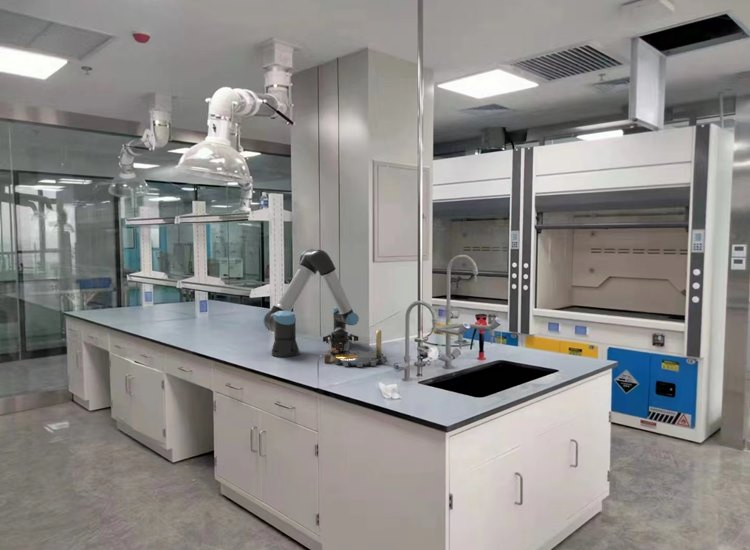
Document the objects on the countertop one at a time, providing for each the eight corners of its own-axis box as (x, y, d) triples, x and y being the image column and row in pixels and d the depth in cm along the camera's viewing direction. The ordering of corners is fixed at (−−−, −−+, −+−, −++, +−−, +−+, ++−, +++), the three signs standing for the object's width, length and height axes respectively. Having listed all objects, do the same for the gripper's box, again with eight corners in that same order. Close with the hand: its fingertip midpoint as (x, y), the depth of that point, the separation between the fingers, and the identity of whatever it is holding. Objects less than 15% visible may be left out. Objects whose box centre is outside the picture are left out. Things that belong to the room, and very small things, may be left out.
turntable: (321, 361, 266) (321, 330, 265) (356, 352, 288) (356, 323, 287) (363, 369, 249) (362, 336, 248) (397, 359, 271) (396, 328, 270)
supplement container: (326, 354, 287) (326, 332, 287) (341, 351, 294) (341, 330, 293) (337, 357, 279) (337, 335, 279) (353, 354, 286) (353, 332, 286)
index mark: (324, 363, 265) (324, 355, 265) (324, 361, 269) (324, 353, 269) (330, 363, 266) (330, 355, 265) (330, 361, 270) (330, 353, 269)
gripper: (361, 340, 312) (363, 347, 290) (319, 341, 309) (318, 348, 288) (360, 328, 311) (363, 334, 290) (319, 329, 309) (318, 335, 288)
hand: (341, 341), depth 289 cm, fingers open, 13 cm apart
